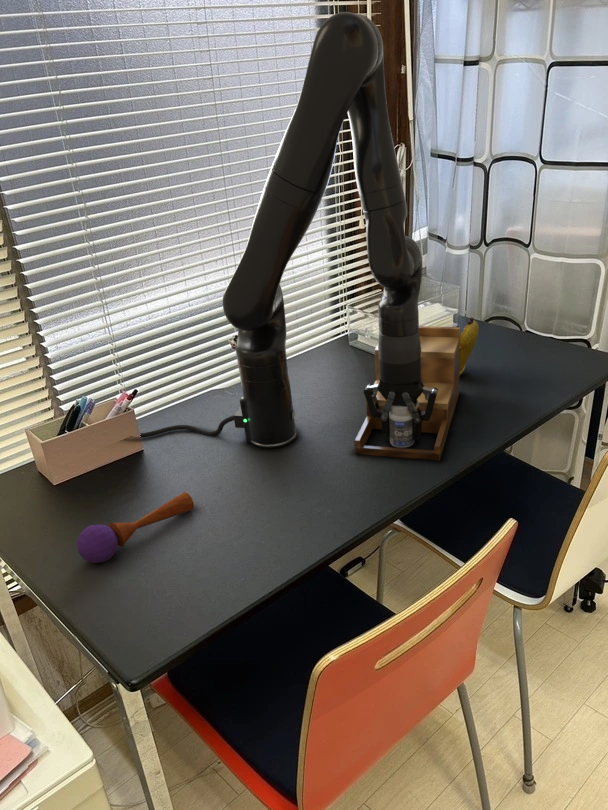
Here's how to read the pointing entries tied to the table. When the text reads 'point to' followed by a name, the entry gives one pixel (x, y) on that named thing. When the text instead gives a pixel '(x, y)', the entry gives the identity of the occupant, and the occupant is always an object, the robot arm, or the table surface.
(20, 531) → the table surface
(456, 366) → the stepped rack
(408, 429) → the pill bottle
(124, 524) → the kendama
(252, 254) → the robot arm
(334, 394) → the table surface
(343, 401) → the table surface
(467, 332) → the banana bunch
